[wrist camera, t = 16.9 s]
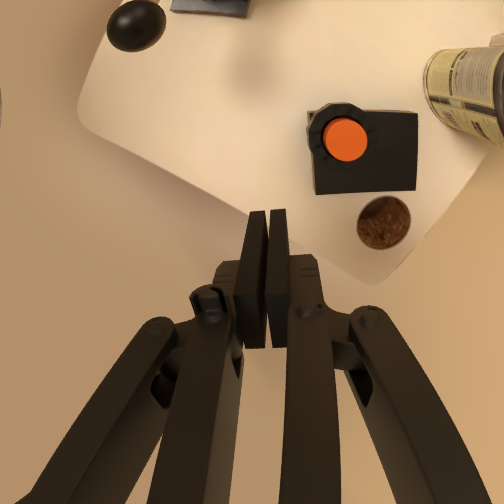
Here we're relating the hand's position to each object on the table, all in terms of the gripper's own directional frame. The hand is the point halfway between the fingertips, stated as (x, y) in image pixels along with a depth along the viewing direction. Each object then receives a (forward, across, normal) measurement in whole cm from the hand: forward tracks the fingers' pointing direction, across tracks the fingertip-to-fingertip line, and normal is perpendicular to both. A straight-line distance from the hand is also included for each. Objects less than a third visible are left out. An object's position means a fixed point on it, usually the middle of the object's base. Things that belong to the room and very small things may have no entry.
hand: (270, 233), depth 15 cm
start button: (+15, +7, +2) cm, 17 cm away
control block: (+18, +10, 0) cm, 21 cm away
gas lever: (+6, -5, +17) cm, 19 cm away
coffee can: (+19, +23, +8) cm, 31 cm away
